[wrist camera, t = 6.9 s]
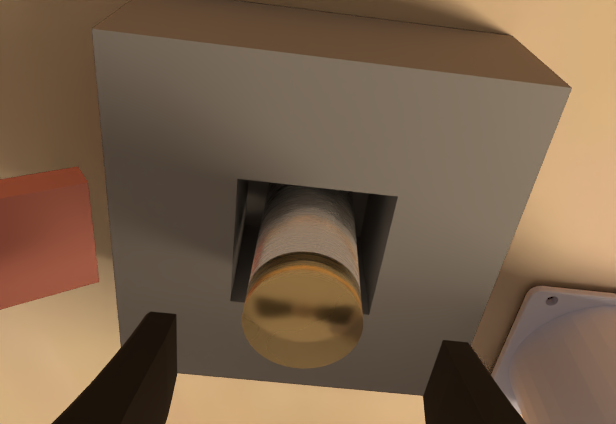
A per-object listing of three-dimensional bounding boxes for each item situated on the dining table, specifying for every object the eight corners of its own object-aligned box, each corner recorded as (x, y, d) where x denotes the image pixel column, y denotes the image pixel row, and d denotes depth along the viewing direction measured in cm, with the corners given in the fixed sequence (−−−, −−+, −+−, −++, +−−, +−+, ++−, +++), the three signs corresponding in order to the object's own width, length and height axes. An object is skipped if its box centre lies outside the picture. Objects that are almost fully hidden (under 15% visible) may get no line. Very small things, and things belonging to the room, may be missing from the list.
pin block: (512, 35, 18) (571, 87, 14) (426, 306, 24) (450, 398, 20) (146, -11, 17) (91, 28, 13) (157, 279, 24) (122, 368, 20)
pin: (358, 150, 20) (375, 286, 13) (341, 220, 21) (349, 376, 14) (276, 136, 20) (249, 266, 13) (265, 207, 21) (235, 359, 14)
